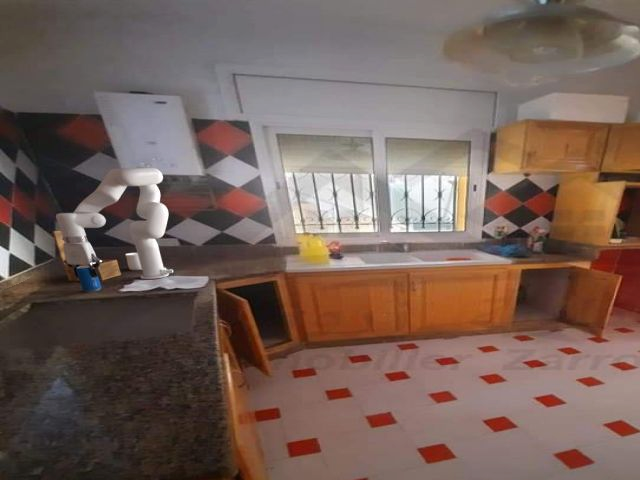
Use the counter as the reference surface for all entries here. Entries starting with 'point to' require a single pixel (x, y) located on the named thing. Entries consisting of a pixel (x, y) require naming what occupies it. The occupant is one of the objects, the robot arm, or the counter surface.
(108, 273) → the chest
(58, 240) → the lid
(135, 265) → the cup
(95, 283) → the beverage can
